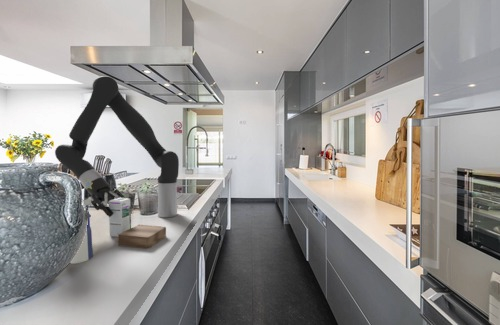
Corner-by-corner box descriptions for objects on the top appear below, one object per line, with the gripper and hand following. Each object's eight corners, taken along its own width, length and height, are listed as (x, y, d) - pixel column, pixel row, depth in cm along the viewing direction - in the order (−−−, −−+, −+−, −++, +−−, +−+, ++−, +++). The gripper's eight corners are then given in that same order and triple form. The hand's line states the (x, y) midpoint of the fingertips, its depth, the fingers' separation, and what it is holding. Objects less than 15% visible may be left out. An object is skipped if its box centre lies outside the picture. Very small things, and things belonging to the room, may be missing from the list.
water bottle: (71, 253, 86) (69, 178, 84) (98, 252, 87) (96, 178, 85) (55, 264, 78) (53, 182, 76) (86, 263, 79) (84, 182, 77)
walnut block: (139, 234, 105) (138, 224, 104) (165, 236, 102) (165, 226, 102) (118, 245, 93) (118, 234, 93) (148, 248, 91) (148, 237, 90)
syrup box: (122, 237, 101) (121, 201, 100) (109, 236, 102) (108, 200, 101) (131, 232, 106) (131, 198, 105) (119, 231, 107) (118, 197, 106)
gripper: (85, 179, 97) (112, 210, 96) (112, 174, 111) (136, 202, 110) (74, 192, 99) (100, 223, 97) (102, 186, 113) (125, 214, 111)
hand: (119, 212), depth 104 cm, fingers open, 8 cm apart
